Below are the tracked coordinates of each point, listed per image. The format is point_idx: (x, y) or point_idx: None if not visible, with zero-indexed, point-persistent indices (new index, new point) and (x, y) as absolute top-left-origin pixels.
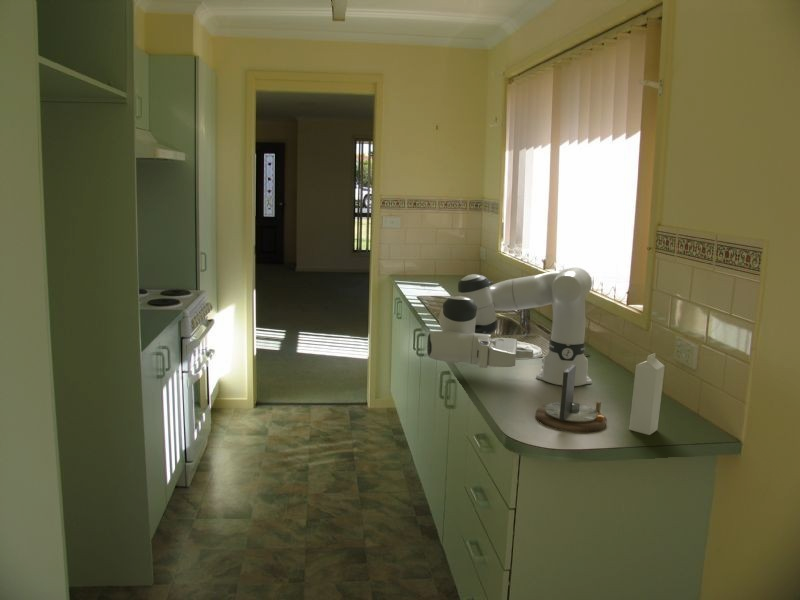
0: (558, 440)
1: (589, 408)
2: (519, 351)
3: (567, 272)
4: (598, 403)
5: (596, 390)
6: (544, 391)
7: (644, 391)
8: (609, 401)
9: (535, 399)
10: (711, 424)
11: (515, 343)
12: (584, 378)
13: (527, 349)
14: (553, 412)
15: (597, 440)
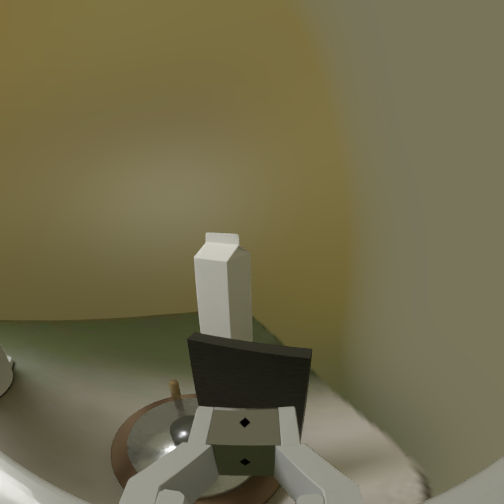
0: (361, 472)
1: (174, 406)
2: (361, 496)
3: None
4: (177, 384)
5: (37, 367)
6: (9, 433)
7: (241, 302)
8: (87, 371)
9: (45, 475)
10: (190, 313)
11: (61, 502)
12: (7, 360)
13: (213, 440)
14: (223, 480)
15: (318, 417)
